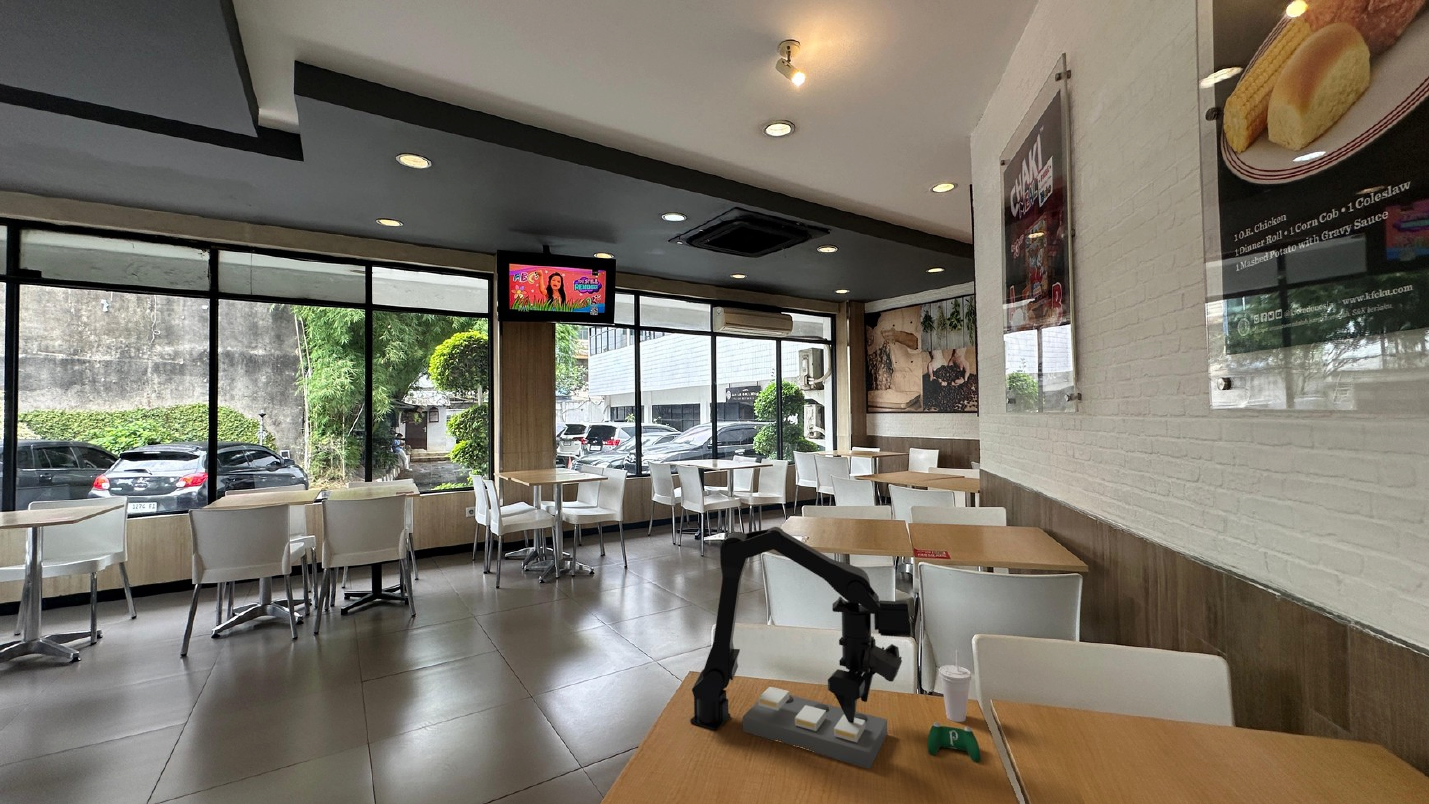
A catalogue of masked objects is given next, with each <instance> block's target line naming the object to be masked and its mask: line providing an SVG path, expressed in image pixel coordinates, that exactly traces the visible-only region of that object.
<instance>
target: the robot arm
mask: <svg viewBox="0 0 1429 804" xmlns="http://www.w3.org/2000/svg"><path fill="white" fill-rule="evenodd" d="M773 550H774V551H775V552H777V553H779V554H780V555H783V556H784V557H786V558H788V559H789V560H790V561H792V562H794V563H796V564H797V565H800V566H801V567H803V568H804V569H806V570H808V571H809V572H812V573H813V574H815V575H816V576H818V577H820V578H822V579H823V580H824V581H825V582H827V584H828V585H830V587H831V588H832V589H833V590H834V591H835V592H836V593H838V594H839V595H840V596H839V597H838V598H837V600H835V601H834V602H833V603H832V607H831V608H832V612H834V613H841V637H840V638H839V639H838V643H839V644H838V645H839V646H842V647H841V648H842V649H841V650H842V652H841V653H842V654H841V655H842V657H841V658H840V659H839V662H838V663H839V666H840V667H845V669H846V670H843V669H839V668H838V669H836V670H835V671H834V672H833V673H832V674H831V675H830V676H829V677H828V679H827V690H828V691H829V692H831V693H832V694H833V695H834V696H835V699H836V700H837V702H838V704H839V705H840V706H839V707H840V708H842V710H843V712H844V714H845V716H846V718H847V720H848V722H851V723H853V722H854V719H855V712H857V704H858V700H859V699H860V701H861V702H864V703H867V702H868V699H869V695H870V689H871V685H872V682H873V679H874V678H873V677H874V675H875V674H877V675H879V676H881V677H883V678H884V680H886V681H888V682H894V681H895V678H896V677H897V675H898V672H899V670H900V668H901V665H902V663H903V661H902V658H903V657H902V656H900V651H899V647H898V646H896V645H895V644H893V643H892V644H890V645H888V646H887V647H886V648H885V647H884V646H882V647H880V646H877V645H876V639H875V637H874V636H872V615H873V627H874V631H877V633H878V634H879V636H881V637H892V638H893V637H894V638H909V639H911V633H912V632H911V631H912V627H911V626H912V625H911V624H912V623H911V621H910V615H909V613H910V612H909V604H908V601H907V600H895V601H894V600H882V599H881V600H880V598H879V595H878V593H877V592H876V591H875V590H874V589H873V587H872V586H871V582H870V577H869V575H868V574H867V572H866V570H864V569H862V568H860V567H857V566H855V565H852V564H850V563H848V562H847V563H846V562H843V561H839V560H835V559H833V558H831V557H829V556H827V555H825V554H824V553H822V552H820V551H818V550H816V548H815V549H814V548H813V547H811V546H809V545H808V544H806V543H804V542H803V541H801V540H799V539H798V538H796V537H794V536H792V535H790V534H789V533H787V532H786V531H784V530H783V528H781V527H778V526H772V527H770V528H767V529H762V530H761V529H760V530H754V531H750V532H746V533H745V532H743V531H734V532H732V533H730V534H728V536H727V538H726V539H724V541H723V542H722V543H721V545H720V548H719V555H720V556H719V564H720V570H721V576H722V579H721V587H720V593H719V594H720V595H719V602H718V608H717V616H716V622H715V629H714V637H713V642H712V646H711V648H710V650H709V653H708V656H707V659H706V662H705V664H704V668H703V669H702V670H701V671H700V674H699V675H698V676H697V679H696V681H695V682H694V685H693V686H692V688H691V692H692V695H693V715H694V716H693V717H692V718H690V719H689V722H690V723H691V724H693V725H696V726H700V727H702V728H706V729H710V730H712V731H717V730H719V728H721V727H722V726H723V725H724V723H726V722H727V721H728V720H729V719H730V718H731V713H730V712H729V698H727V690H726V689H727V687H728V686H729V684H730V681H733V680H734V678H735V675H736V673H737V670H738V668H739V664H738V659H739V658H738V657H739V655H740V651H741V649H740V648H735V647H734V632H735V626H736V620H737V612H738V605H739V600H740V599H739V597H740V591H741V585H742V584H741V583H742V578H743V574H744V573H745V569H746V566H747V564H748V561H749V558H752V557H755V556H758V555H761V554H763V553H766V552H770V551H773ZM847 670H848V671H847Z"/></svg>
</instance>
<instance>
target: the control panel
mask: <svg viewBox="0 0 1429 804" xmlns="http://www.w3.org/2000/svg"><path fill="white" fill-rule="evenodd" d="M805 705H807V706H811V707H815V708H819V709H822V710H826V719H825V720H824V721H823V723H822V724H821V725H820V727H819V728H818V730H817V731H813V730H810V729H806V728H803V727H799V726H796V725H795V717H796V716H797V715H798V713H799V712H800V711H801V710H802V709H803V707H804V706H805ZM843 715H845V714H844V712H843V710H842V708H841V706H835V705H832V704H828V703H824V702H819V701H815V700H811V699H808V698H804V697H799V696H796V695H792V694H789V699H788V700H787V701H786V703H785V704H784V705H783V706H782V707H781V708H780V709H779V710H774V709H770V708H767V707H763V706H759V705H758V701H757V702H755V703H754V704H753V706H751V708H749V710H748V711H746V712H745V713H744V714H743V715H742V732H744V733H747V734H751V735H755V736H756V737H760V736H761V738H764V737H765V738H764V739H767V738H768V739H767V740H770V739H771V740H770V741H774V740H778V741H781V742H783V743H782V744H784V743H786V744H785V745H787V744H790V745H795V746H799V747H803V748H805V749H809V750H811V751H814V752H816V753H815V754H817V753H818V754H817V755H820V754H823V755H822V756H824V755H825V756H824V757H828V758H830V757H831V758H830V759H834V760H836V761H841V762H845V763H847V764H851V765H854V766H856V767H857V766H858V767H861V768H864V769H868V770H870V769H871V768H872V766H873V764H874V762H875V760H876V757H877V756H878V754H879V752H880V751H881V748H882V746H883V745H884V743H885V740H886V738H887V736H888V719H887V718H884V717H883V718H882V717H879V716H874V715H870V714H867V713H863V712H860V711H856V712H855V718H858V719H862V720H865V730H864V731H863V733H862V735H861V736H860V738H859V740H858V742H853V741H850V740H846V739H843V738H839V737H836V736H834V728H835V726H836V725H837V723H838V722H839V720H840V719H841V717H842V716H843ZM790 745H789V746H790ZM814 752H813V753H814Z"/></svg>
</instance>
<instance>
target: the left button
mask: <svg viewBox="0 0 1429 804" xmlns="http://www.w3.org/2000/svg"><path fill="white" fill-rule="evenodd" d="M789 695H790V690H785V689H781V688H778V687H774V686H769V687H767V689H765V690H764V692H762V694H761V695H760V696H759V697H758V699H757V700H758V701H757V702H758V705H759V706H763V707H767V708H770V709H774V710H779V709H780V708H781V707H782V706H783V705H784V704H785V703H786V701H787V700H788V699H789Z"/></svg>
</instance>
